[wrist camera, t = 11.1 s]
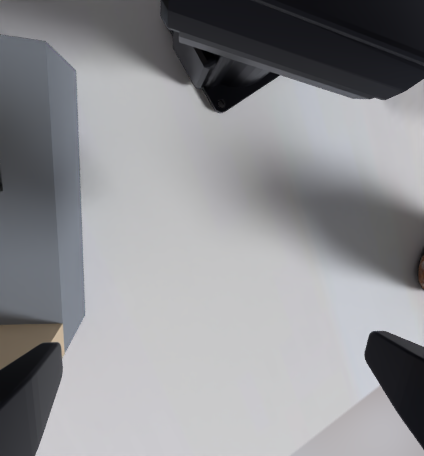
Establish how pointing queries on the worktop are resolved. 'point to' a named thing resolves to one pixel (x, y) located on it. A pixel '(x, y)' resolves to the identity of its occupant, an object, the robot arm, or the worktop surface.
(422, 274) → the sauce bottle
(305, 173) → the worktop surface
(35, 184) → the socket block
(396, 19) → the robot arm
